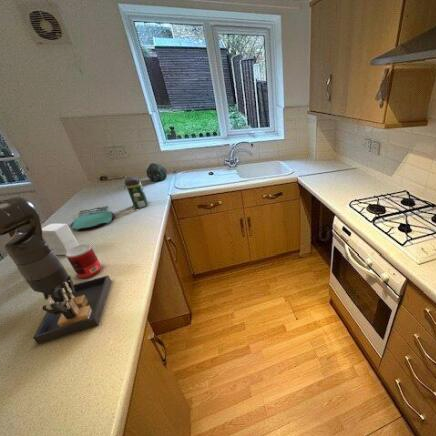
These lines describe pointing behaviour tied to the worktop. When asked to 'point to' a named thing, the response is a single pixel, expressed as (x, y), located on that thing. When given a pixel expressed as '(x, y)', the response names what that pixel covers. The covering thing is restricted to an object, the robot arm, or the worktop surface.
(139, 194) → the coffee jar
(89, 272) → the canned food
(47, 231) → the small box
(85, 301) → the orange brown wooden block
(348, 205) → the worktop surface
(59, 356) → the worktop surface
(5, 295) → the worktop surface
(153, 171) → the squash
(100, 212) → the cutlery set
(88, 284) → the tray
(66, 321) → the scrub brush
